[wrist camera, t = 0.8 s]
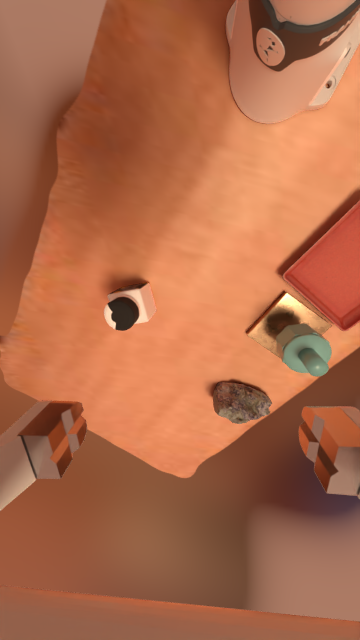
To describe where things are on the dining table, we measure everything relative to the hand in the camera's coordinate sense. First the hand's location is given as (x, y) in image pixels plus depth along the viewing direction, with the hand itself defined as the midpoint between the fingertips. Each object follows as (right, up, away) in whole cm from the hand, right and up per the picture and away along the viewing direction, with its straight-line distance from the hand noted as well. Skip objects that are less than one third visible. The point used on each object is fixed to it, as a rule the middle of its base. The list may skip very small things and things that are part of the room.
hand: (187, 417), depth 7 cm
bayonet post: (+23, +2, +38) cm, 44 cm away
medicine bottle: (-10, +9, +40) cm, 43 cm away
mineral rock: (+15, -16, +46) cm, 51 cm away
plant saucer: (+32, +14, +32) cm, 47 cm away
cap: (+22, -1, +32) cm, 39 cm away
